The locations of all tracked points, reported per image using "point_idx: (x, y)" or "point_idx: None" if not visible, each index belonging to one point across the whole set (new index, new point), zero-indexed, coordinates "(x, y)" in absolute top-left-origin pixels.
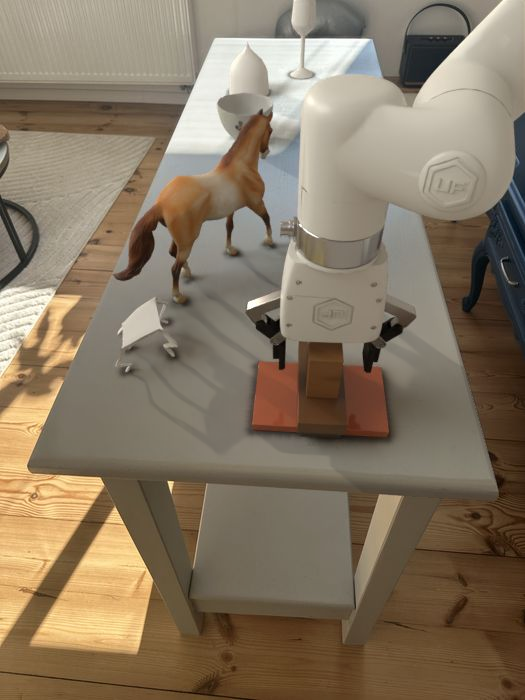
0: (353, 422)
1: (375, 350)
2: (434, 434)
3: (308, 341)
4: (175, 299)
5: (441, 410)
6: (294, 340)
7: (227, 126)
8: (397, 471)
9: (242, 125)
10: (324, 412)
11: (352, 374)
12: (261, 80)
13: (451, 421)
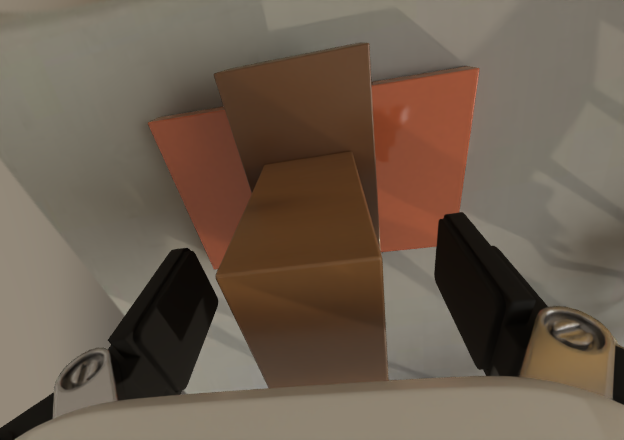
0: (230, 132)
1: (110, 339)
2: (74, 147)
3: (428, 390)
4: (614, 339)
5: (87, 203)
6: (543, 390)
7: None
8: (103, 23)
9: None
10: (290, 107)
11: None
12: None
13: (60, 183)
